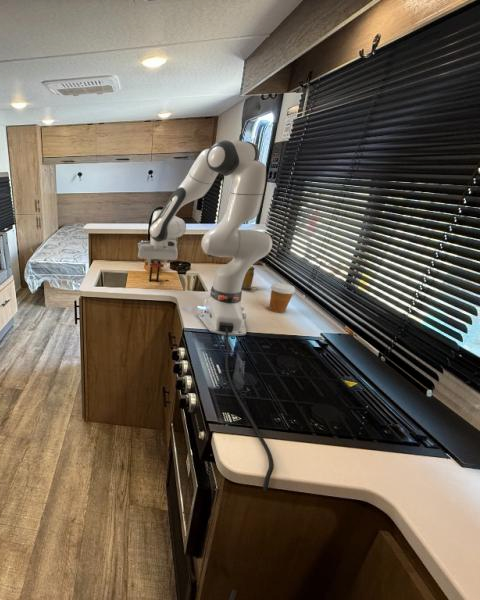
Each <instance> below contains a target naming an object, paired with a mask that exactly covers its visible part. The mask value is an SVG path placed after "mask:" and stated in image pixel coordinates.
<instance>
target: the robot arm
mask: <svg viewBox="0 0 480 600" xmlns="http://www.w3.org/2000/svg"><path fill="white" fill-rule="evenodd" d="M259 157H260V150H259V148H258V146H257V145H256V144H255V143H253V142H251V141H244V140H239V139H231V140H221V141H217V142H216V143H214V144H213V145H212V146H210V148H206V149H203V150H202V151H201V152H200V153H199V155H198V156H197V157H196V159H195V160H194V162H193V164H192V165H191V167H190V169H189V171H188V173H187V175H186V176H185V178H184V179H183V181H181V183H180V185H179V186H178V187H177V188H176V189H175V190H174V191H173V193H172V194H171V195H170V197H169V198H168V200H167V201H166V203H165V205H164V206H163V208H160V209H155V210H154V212H153V214H152V217H151V223H150V226H149V235H150V236H149V237H150V238H149V240H141V241H139V242H138V243H137V249H138V253H137V258H138V259H142V260H143V259H144V260H145V259H147V261H148V263H149V267H152V263H150V259H162V261H163V262H162V264H161V269H162V268H163V269H164V268H165V265H166V263H167V262H168V261H176V260H178V256H179V252H178V247H177V245H178V244H177V241H176V240H175V239H177V238H180V237H183V236H184V234H185V233H186V230H187V224H186V222H185V220H184V219H183V218H181V217H178V216H177V213H178V212H179V210H180V209H181V208H182V207H183V206H184V207H185V205H187V204H189V203H191V202H194V201H196V200H198V199H201V198H203V197H205V195H206V194H207V193H208V192H209V190H210V189H211V187H212V186H213V184H214V182H215V181H216V179H217V177H218V175H219V174H220V175H223V177H224V176H225V177H228V176H230V178H231V180H232V183H231V188H230V193H229V199H228V202H227V205H226V209H225V211H224V212H225V213H224V214H223V216H222V218H221V219H220V221H219V222H218V224H216V225H215V226H214V227H212V228H211V229H209V230H208V231H207V232H205V234H204V235H203V236H202V238H201V242H200V244H201V245H200V246H201V249H202V251H203V253H204V254H205V255H207V256H212V257H215V258H231V260H230V261H229V262H227V263H225V264H222V265H221V266H219V267H218V268H217V269H216V271H215V272H214V277H213V282H212V286H211V287H210V291H209V292H210V293H209V294H210V295H209V297H207V298H206V299H205V300H204V305H203V306H200V305H197V309H201V310H202V312H200V313H199V314H198V316H197V317H198V318H199V320H200V321H201V322H202V323H203V325H204V326H205V327H206V328H207V330H208V331H209V332H211V333H213V334H218V335H223V336H225V346H226V354H225V359H224V360H225V361H224V364H225V365H224V367H225V373H226V376H227V377H226V378H227V380H228V383H229V386H230V388H231V390H232V392H233V394H234V396H235V398H236V400H237V402H238V403H239V405H240V407H241V409H242V410H243V413H244V414H245V416H246V417H247V419H248V421H249V422H250V424H251V426H252V428H253V429H254V431H255V433H256V435H257V437H258V439H259V441H260V443H261V444H262V446H263V447H264V450H265V452H266V456H267V458H268V468H267V471H266V474H265V477H264V481H263V484H262V485H263V486H262V490H263V491H264V492H268V490H269V485H270V480H271V477H272V474H273V472H274V466H275V464H274V459H273V455H272V452H271V450H270V448H269V446H268V444H267V443H266V441H265V438H264V437H263V436H262V433H261V431H260V430H259V428H258V426H257V424H256V423H255V421H254V420H253V418H252V416H251V415H250V413H249V411H248V409H247V408H246V406H245V404H244V402H243V401H242V399H241V397H240V395H239V394H238V391H237V389H236V387H235V385H234V383H233V381H232V377H231V374H230V368H229V357H230V345H229V336H231V337H240V336H241V337H242V336H246V335H247V328H246V324H245V323H246V322H245V320H246V319H247V313H245V312H244V313H243V311H244V310H245V307H243V306H242V303H243V301H242V295H243V294H242V293H243V291H242V289H241V288H242V284H243V281H244V278H245V275H246V273H247V271H248V270H249V268H250V267H253V265H254V264H255V263H256V262H258V261H259V260H261V259H263V258H264V257H266V256H268V254H270V252H271V250H272V248H273V239H272V237H271V235H270V234H269V233H267V232H265V231H259V230H250V229H248V230H247V229H240V228H241V226H242V225H243V224H245V223H248V222H249V221H252V220H254V219H255V218H256V217H257V216H258V215H259V213H260V208H261V206H262V202H263V201H262V200H263V196H264V194H265V193H264V192H265V187H266V180H267V179H266V178H267V167H266V164H265V163H263V162H262V161H259ZM237 592H238V590H236V589H232V590H231V593H230V596H229V599H228V600H235V598H236V594H237Z"/></svg>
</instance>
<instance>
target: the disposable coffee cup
mask: <svg viewBox="0 0 480 600" xmlns="http://www.w3.org/2000/svg"><path fill="white" fill-rule="evenodd" d="M295 293H296V287H295V286H293V285H292V284H288V283H285V282H274V283H272V284H271V286H270V299H269V307H268V309H269V311H271V312H273V313H278V314H279V313H281V314H283V313H285V312H286V309H287V307H288V305H289V303H290V301H291V299H292V297H293V295H294V294H295Z"/></svg>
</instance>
